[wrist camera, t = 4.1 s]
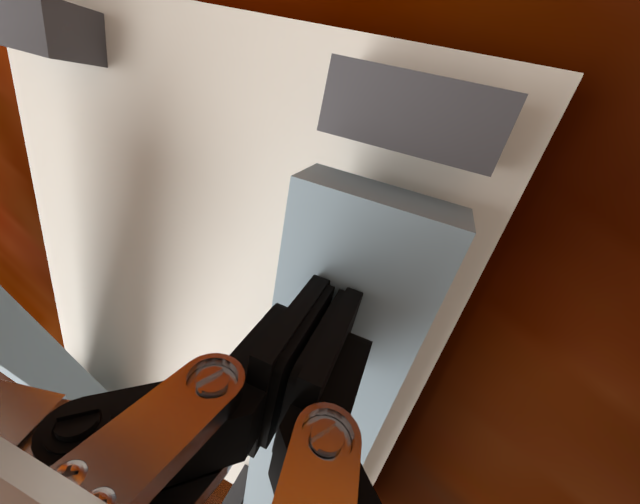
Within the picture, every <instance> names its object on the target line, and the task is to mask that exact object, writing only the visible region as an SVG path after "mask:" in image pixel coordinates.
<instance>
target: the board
mask: <svg viewBox="0 0 640 504" xmlns="http://www.w3.org/2000/svg"><path fill="white" fill-rule="evenodd" d="M0 45H1V46H5V47H7V51H8V56H9V61H10V66H11V71H12V77H13V82H14V87H15V92H16V98H17V103H18V108H19V113H20V118H21V124H22V129H23V134H24V139H25V144H26V150H27V155H28V160H29V165H30V170H31V176H32V181H33V186H34V191H35V196H36V202H37V207H38V212H39V217H40V222H41V228H42V233H43V238H44V243H45V248H46V254H47V259H48V264H49V269H50V275H51V280H52V285H53V290H54V295H55V301H56V306H57V311H58V316H59V321H60V327H61V332H62V337H63V342H64V347H65V350H66V351H67V352H68V353H69V354H70V355H71V356H72V357H73V358H74V359H75V360H76V361H77V362H78V363H79V364H80V365H81V366H82V367H83V368H84V369H85V370H86V371H87V372H88V373H89V374H90V375H91V376H92V377H93V378H94V379H95V380H96V381H98V382H99V383H100V384H101V385H102V386H103V387H104V388H105V389H106V390H107V391H108V392H109V391H114V390H119V389H124V388H129V387H135V386H140V385H145V384H150V383H155V382H160V381H164V380H166V379H167V378H168V377H170V376H171V375H172V374H174V373H175V372H176V371H178V370H179V369H180V368H182V367H183V366H184V365H186V364H187V363H188V362H190V361H191V360H193V359H195V358H196V357H198V356H201V355H205V354H208V353H221V354H227V355H230V354H231V353H232V352H233V350H234V349H235V348H236V347H237V346H238V345H239V344H240V343H241V341H242V340H243V339H244V338H245V337H246V336H247V335H248V334H249V332H250V331H251V330H252V329H253V328H254V327H255V326H256V324H257V323H258V322H259V321H260V320H261V319H262V318H263V317H264V315H265V314H266V313H267V312H268V311H269V310H270V309H271V308H272V301H273V295H274V288H275V281H276V274H277V267H278V260H279V253H280V246H281V239H282V233H283V226H284V219H285V212H286V205H287V198H288V191H289V184H290V178H291V175H293V174H296V173H298V172H300V171H302V170H304V169H306V168H308V167H310V166H312V165H314V164H316V163H318V164H322V165H325V166H329V167H332V168H335V169H339V170H342V171H346V172H349V173H352V174H356V175H359V176H363V177H366V178H369V179H373V180H376V181H380V182H383V183H386V184H390V185H393V186H397V187H400V188H403V189H407V190H410V191H414V192H417V193H420V194H424V195H427V196H431V197H434V198H437V199H441V200H444V201H448V202H451V203H454V204H458V205H461V206H465V207H468V208H471V209H472V211H473V217H474V223H475V230H476V235H475V237H474V239H473V241H472V243H471V245H470V247H469V249H468V251H467V253H466V255H465V257H464V259H463V261H462V263H461V265H460V267H459V269H458V271H457V273H456V275H455V277H454V280H453V282H452V284H451V286H450V288H449V290H448V292H447V294H446V296H445V298H444V300H443V302H442V304H441V306H440V308H439V310H438V312H437V314H436V316H435V318H434V320H433V322H432V325H431V327H430V329H429V331H428V333H427V335H426V337H425V339H424V341H423V343H422V345H421V347H420V349H419V351H418V353H417V355H416V357H415V359H414V361H413V363H412V365H411V367H410V370H409V372H408V374H407V376H406V378H405V380H404V382H403V384H402V386H401V388H400V390H399V392H398V394H397V396H396V398H395V400H394V402H393V404H392V406H391V408H390V410H389V412H388V415H387V417H386V419H385V421H384V423H383V425H382V427H381V429H380V431H379V433H378V435H377V437H376V439H375V441H374V443H373V445H372V447H371V449H370V451H369V453H368V455H367V457H366V460H365V462H364V464H363V468H364V470H365V472H366V474H367V476H368V478H369V480H370V482H371V484H372V486H373V485H374V483H375V481H376V479H377V477H378V475H379V473H380V471H381V469H382V468H383V466H384V464H385V462H386V460H387V458H388V456H389V454H390V452H391V450H392V448H393V446H394V444H395V442H396V440H397V438H398V436H399V434H400V432H401V430H402V428H403V427H404V425H405V423H406V421H407V419H408V417H409V415H410V413H411V411H412V409H413V407H414V405H415V403H416V401H417V399H418V397H419V395H420V393H421V391H422V389H423V387H424V385H425V384H426V382H427V380H428V378H429V376H430V374H431V372H432V370H433V368H434V366H435V364H436V362H437V360H438V358H439V356H440V354H441V352H442V350H443V348H444V346H445V344H446V342H447V341H448V339H449V337H450V335H451V333H452V331H453V329H454V327H455V325H456V323H457V321H458V319H459V317H460V315H461V313H462V311H463V309H464V307H465V305H466V303H467V301H468V299H469V298H470V296H471V294H472V292H473V290H474V288H475V286H476V284H477V282H478V280H479V278H480V276H481V274H482V272H483V270H484V268H485V266H486V264H487V262H488V260H489V258H490V256H491V255H492V253H493V251H494V249H495V247H496V245H497V243H498V241H499V239H500V237H501V235H502V233H503V231H504V229H505V227H506V225H507V223H508V221H509V219H510V217H511V215H512V213H513V212H514V210H515V208H516V206H517V204H518V202H519V200H520V198H521V196H522V194H523V192H524V190H525V188H526V186H527V184H528V182H529V180H530V178H531V176H532V174H533V172H534V170H535V169H536V167H537V165H538V163H539V161H540V159H541V157H542V155H543V153H544V151H545V149H546V147H547V145H548V143H549V141H550V139H551V137H552V135H553V133H554V131H555V129H556V128H557V126H558V124H559V122H560V120H561V118H562V116H563V114H564V112H565V110H566V108H567V106H568V104H569V102H570V100H571V98H572V96H573V94H574V92H575V90H576V88H577V86H578V85H579V83H580V81H581V79H582V77H583V75H584V73H580V72H575V71H570V70H564V69H559V68H553V67H548V66H543V65H537V64H532V63H527V62H521V61H516V60H510V59H505V58H500V57H494V56H489V55H484V54H478V53H473V52H468V51H462V50H457V49H451V48H446V47H441V46H435V45H430V44H425V43H419V42H414V41H409V40H403V39H398V38H392V37H387V36H382V35H376V34H371V33H366V32H360V31H355V30H349V29H344V28H339V27H333V26H328V25H323V24H317V23H312V22H307V21H301V20H296V19H290V18H285V17H280V16H274V15H269V14H264V13H258V12H253V11H248V10H242V9H237V8H231V7H226V6H221V5H215V4H210V3H205V2H199V1H194V0H0ZM249 460H250V456H247V458H246V460H245V461H243V462H240V463H237V464H234V465H232V467H231V468H230V470H229V472H228V474H227V475H226V476H225V478H224V479H225V480H227V481H229V482H230V483H232V484H233V485H232V487H231V489H230V490H229V492H228V494H227V495H226V497H225V499H224V501H223V502H222V504H243V501H244V494H245V487H246V480H247V473H248V467H249Z"/></svg>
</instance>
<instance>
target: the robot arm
mask: <svg viewBox="0 0 640 504" xmlns="http://www.w3.org/2000/svg"><path fill="white" fill-rule="evenodd" d="M330 282H331V281H330V280H328V279H325V278H323V277H320V276H317V275H313V276H312V278H311V279H310V280H309V281H308V283H307V284H306V285H305V286H304V288H303V289H302V290H301V291H300V293H299V294H298V295H297V296H296V298H295V299H294V300H293V301H292V303H291V304H290V305H289V306H288V307H286V306H284V305H281V304H279V303H276V304H275V305H273V306H272V308H271V309H270V310H269V311H268V312H267V313H266V314H265V315H264V317H263V318H262V319H261V320H260V321H259V322H258V323H257V324H256V326H255V327H254V328H253V329H252V330H251V331H250V332H249V334H248V335H247V336H246V337H245V338H244V339H243V340H242V341H241V343H240V344H239V345H238V346H237V347H236V348H235V349H234V350H233V352H232V353H231V354H230V355H227V354H221V353H208V354H205V355H201V356H198V357H196V358H195V359H193V360H191V361H190V362H188V363H187V364H186V365H184V366H183V367H182V368H180V369H179V370H178V371H176V372H175V373H174V374H172V375H171V376H170V377H168V378H167V379H166V380H164V381H160V382H155V383H150V384H145V385H140V386H135V387H129V388H124V389H119V390H114V391H109V392H104V393H99V394H94V395H89V396H84V397H81V398H77V399H74V400H67V397H66V395H65V394H61V393H57V392H52V391H48V390H44V389H40V388H35V387H31V386H27V385H22V384H18V383H14V382H9V381H5V380H1V379H0V504H204V503H205V502H206V500H207V499H208V498H209V497H210V495H211V494H212V493H213V492H214V490H215V489H216V488H217V487H218V485H219V484H220V483H221V481H222V480H223V479H224V478H225V476H226V475H227V474H228V472H229V470H230V468H231V467H232V465H234V464H237V463H240V462H243V461H245V460H246V458H247V456H250V457H252V458H254V457H255V455H256V453H257V452H258V450H259V448H260V447H262V448H264V449H267V448H268V446H269V444H270V442H271V440H272V439H273V437H274V435H275V439H274V443H273V447H272V453H273V454H272V458H271V462H270V466H269V471H268V476H269V479H270V483H271V486H272V490H273V494H274V497H273V501H272V504H382V503H381V501H380V499H379V497H378V495H377V493H376V491H375V490H374V488H373V486H372V484H371V482H370V480H369V478H368V476H367V474H366V472H365V470H364V468H363V466H362V464H361V449H362V439H361V432H360V429H359V427H358V424H357V422H356V421H355V420H354V418H353V417H352V415H351V412H352V409H353V405H354V402H355V399H356V396H357V392H358V389H359V386H360V382H361V379H362V376H363V373H364V369H365V366H366V363H367V360H368V356H369V353H370V350H371V346H372V343H373V341H370V340H368V339H365V338H363V337H360V336H358V335H355V334H353V333H351V331H352V328H353V325H354V321H355V318H356V315H357V312H358V309H359V306H360V303H361V300H362V297H363V294H364V293H363V292H360V291H357V290H355V289H352V288H349V287H347V288H346V290H342V289H339V290H338V292H337V294H336V295H335V297H334V299H333V300H332V298H333V294H334V290H335V287H334V286H331V285H330ZM331 301H332V302H331ZM275 433H276V434H275Z"/></svg>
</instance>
